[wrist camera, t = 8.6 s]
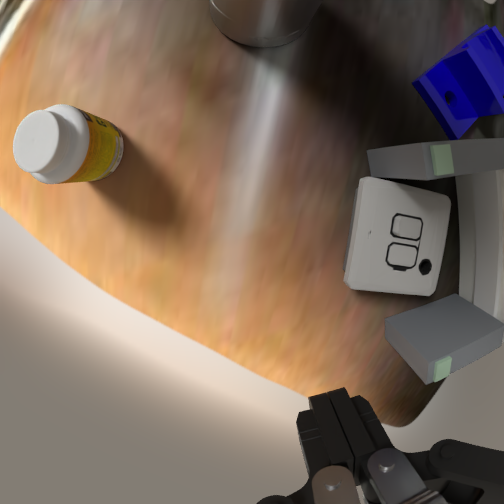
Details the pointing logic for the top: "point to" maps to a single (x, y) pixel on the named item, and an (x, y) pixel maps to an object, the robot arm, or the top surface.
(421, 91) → the mounting bracket
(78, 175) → the supplement bottle
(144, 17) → the top surface
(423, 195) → the electrical switch
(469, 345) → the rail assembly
